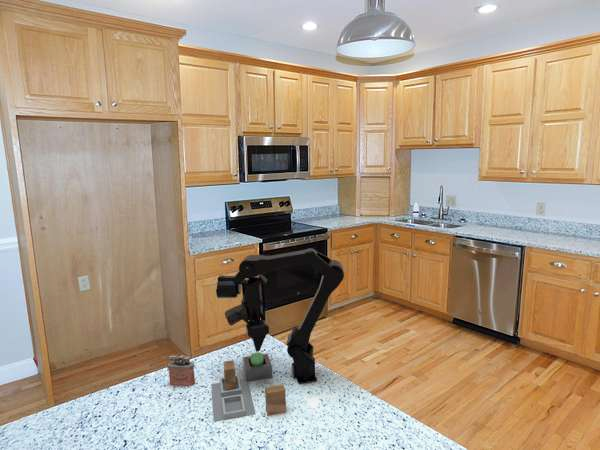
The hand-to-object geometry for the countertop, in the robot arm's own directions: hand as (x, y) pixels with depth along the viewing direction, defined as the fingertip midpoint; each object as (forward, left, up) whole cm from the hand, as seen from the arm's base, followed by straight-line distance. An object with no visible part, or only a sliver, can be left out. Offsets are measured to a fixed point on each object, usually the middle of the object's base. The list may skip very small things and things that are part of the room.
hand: (255, 344), depth 123 cm
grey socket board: (+9, +11, -11) cm, 17 cm away
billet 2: (-2, +20, -11) cm, 23 cm away
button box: (0, 0, -11) cm, 11 cm away
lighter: (+23, -1, -11) cm, 25 cm away
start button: (0, 0, -7) cm, 7 cm away
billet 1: (+9, +6, -10) cm, 14 cm away
